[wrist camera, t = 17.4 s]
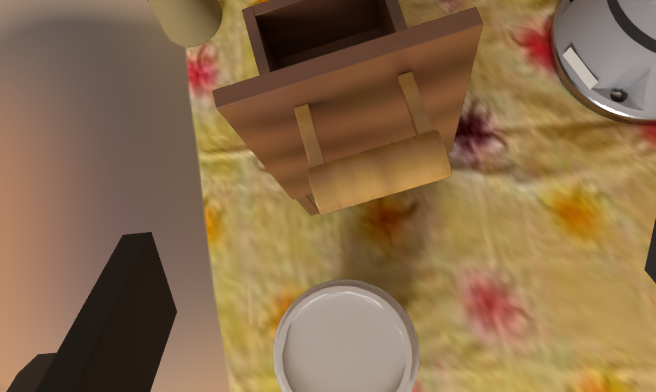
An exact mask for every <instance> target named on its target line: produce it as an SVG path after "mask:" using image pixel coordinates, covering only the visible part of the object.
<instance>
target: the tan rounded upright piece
mask: <svg viewBox="0 0 656 392" xmlns="http://www.w3.org/2000/svg"><path fill="white" fill-rule="evenodd" d="M147 1H148V3H149V4H150V6H151V8H152V10H153V12H154V14H155V15H156V17H157V19H158V21H159V23H160V25H161V27H162V29H163V30H164V32H165V34H166V36H167V37H168V38H169V39H170V40H171V41H172V42H173V43H175V44H177V45H179V46H185V47H192V46H198V45H200V44H202V43H205V42H207V41H208V40H209V39H210V38H211V37H212V36H214V35H215V33H216V31H217V30H218V28H219V26H220V22H221V18H222V17H221V8H220V6H219V4H218V2H217V0H147Z"/></svg>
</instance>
